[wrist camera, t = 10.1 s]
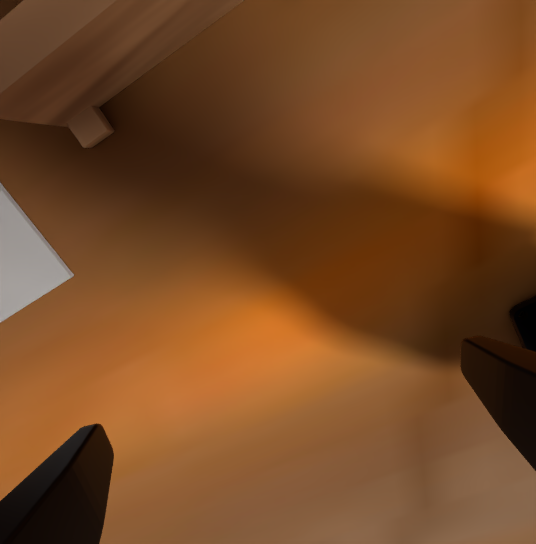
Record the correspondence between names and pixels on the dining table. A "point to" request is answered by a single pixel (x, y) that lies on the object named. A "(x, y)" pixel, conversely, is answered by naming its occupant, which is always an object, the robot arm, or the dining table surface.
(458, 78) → the dining table surface
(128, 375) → the dining table surface
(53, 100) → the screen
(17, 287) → the felt mat
